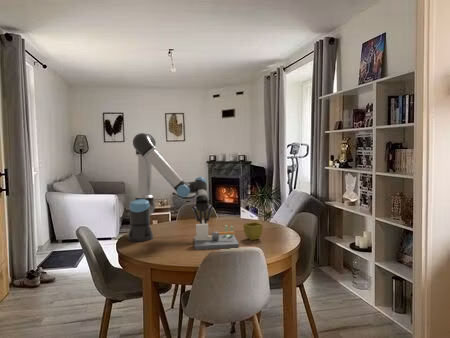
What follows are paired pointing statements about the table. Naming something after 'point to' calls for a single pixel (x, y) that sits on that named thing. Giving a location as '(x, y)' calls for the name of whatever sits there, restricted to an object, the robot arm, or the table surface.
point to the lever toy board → (218, 242)
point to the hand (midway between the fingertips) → (203, 230)
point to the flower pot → (253, 230)
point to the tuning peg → (207, 233)
